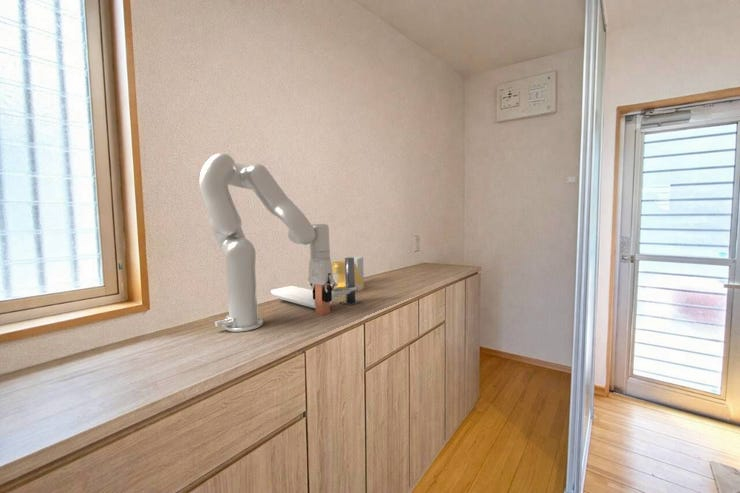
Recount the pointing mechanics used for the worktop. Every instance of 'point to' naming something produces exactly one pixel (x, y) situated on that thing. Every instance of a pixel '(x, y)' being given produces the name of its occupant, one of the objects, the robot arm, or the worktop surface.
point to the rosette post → (348, 285)
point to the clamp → (339, 269)
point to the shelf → (296, 295)
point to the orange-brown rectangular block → (321, 301)
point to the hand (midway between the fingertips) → (322, 299)
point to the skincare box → (359, 265)
